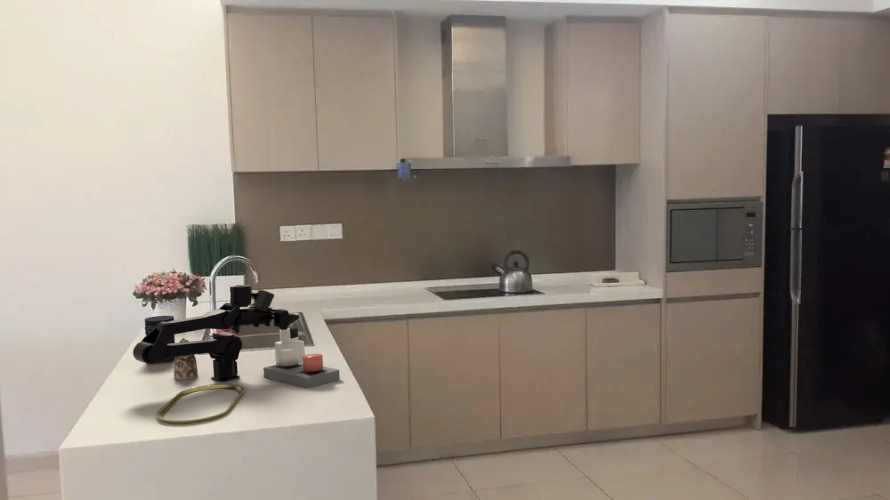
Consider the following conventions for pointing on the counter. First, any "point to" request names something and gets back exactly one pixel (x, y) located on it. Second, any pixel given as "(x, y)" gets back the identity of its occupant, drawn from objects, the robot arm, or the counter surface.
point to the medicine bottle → (290, 343)
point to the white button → (288, 357)
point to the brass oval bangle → (186, 392)
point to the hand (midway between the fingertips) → (290, 314)
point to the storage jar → (152, 323)
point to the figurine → (185, 366)
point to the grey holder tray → (301, 375)
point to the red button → (312, 362)
